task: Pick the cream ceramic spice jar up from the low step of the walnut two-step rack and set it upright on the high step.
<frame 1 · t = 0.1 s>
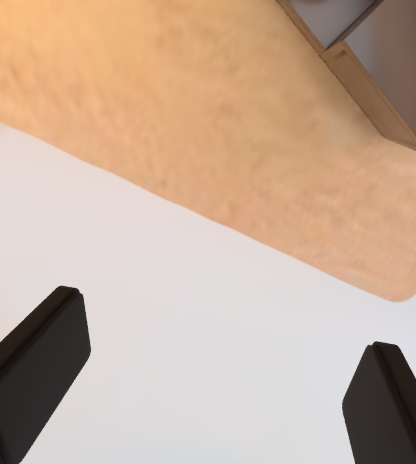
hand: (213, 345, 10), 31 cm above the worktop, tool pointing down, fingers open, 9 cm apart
step rack: (361, 13, 30), on the worktop
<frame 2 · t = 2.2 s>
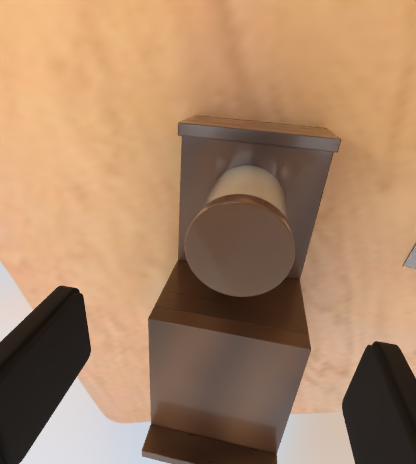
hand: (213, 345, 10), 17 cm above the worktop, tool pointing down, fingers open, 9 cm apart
step rack: (241, 246, 28), on the worktop
spice jar: (247, 200, 21), point 4 cm above the worktop, touching step rack
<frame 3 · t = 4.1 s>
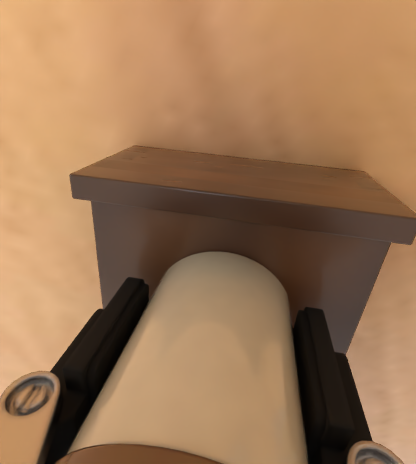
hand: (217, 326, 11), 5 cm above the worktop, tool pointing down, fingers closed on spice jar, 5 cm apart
step rack: (220, 342, 18), on the worktop
spice jar: (221, 309, 11), point 4 cm above the worktop, touching gripper, step rack
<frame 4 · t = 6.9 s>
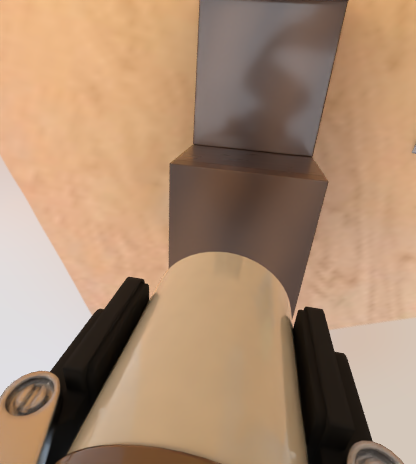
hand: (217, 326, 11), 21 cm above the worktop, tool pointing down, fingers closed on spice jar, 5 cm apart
step rack: (253, 142, 28), on the worktop
spice jar: (221, 309, 11), point 21 cm above the worktop, touching gripper
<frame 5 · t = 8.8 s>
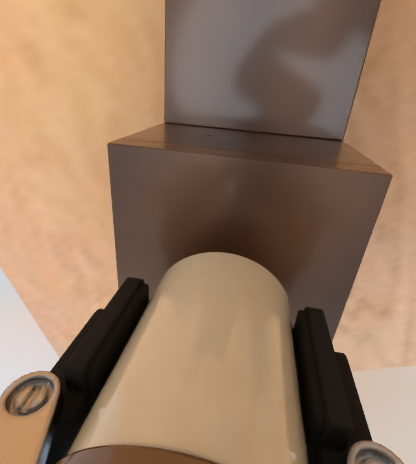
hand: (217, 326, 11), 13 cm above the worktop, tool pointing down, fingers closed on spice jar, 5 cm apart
step rack: (252, 123, 20), on the worktop
spice jar: (221, 309, 11), point 13 cm above the worktop, touching gripper
when the fingers open (12 cm above the worktop, at t = 9.7 s): spice jar stays where it is, resting on step rack.
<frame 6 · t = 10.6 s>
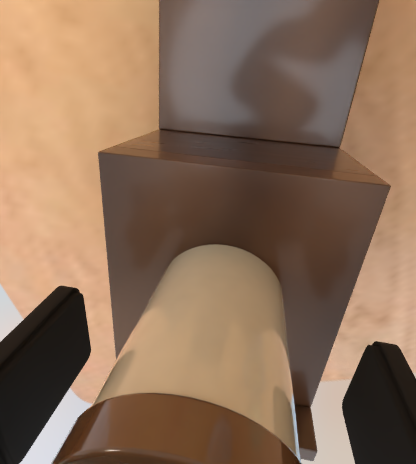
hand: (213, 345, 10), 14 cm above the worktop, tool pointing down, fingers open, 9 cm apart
step rack: (249, 129, 20), on the worktop
spice jar: (220, 298, 12), point 11 cm above the worktop, touching step rack
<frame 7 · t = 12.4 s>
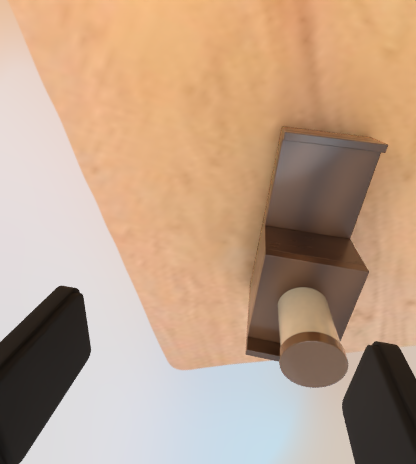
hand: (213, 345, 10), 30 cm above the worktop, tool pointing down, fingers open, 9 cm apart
step rack: (302, 219, 39), on the worktop
spice jar: (302, 306, 31), point 11 cm above the worktop, touching step rack
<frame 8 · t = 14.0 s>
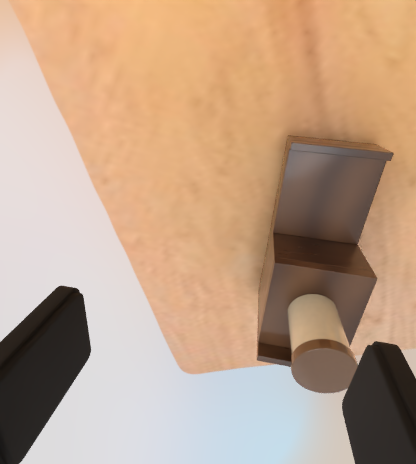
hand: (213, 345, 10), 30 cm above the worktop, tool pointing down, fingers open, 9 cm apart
step rack: (309, 225, 39), on the worktop
spice jar: (311, 313, 32), point 11 cm above the worktop, touching step rack
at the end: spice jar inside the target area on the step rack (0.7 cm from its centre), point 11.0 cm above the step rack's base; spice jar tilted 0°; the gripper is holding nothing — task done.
